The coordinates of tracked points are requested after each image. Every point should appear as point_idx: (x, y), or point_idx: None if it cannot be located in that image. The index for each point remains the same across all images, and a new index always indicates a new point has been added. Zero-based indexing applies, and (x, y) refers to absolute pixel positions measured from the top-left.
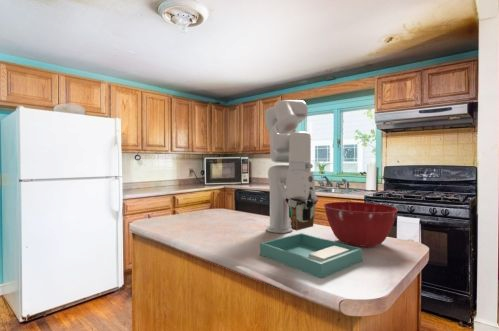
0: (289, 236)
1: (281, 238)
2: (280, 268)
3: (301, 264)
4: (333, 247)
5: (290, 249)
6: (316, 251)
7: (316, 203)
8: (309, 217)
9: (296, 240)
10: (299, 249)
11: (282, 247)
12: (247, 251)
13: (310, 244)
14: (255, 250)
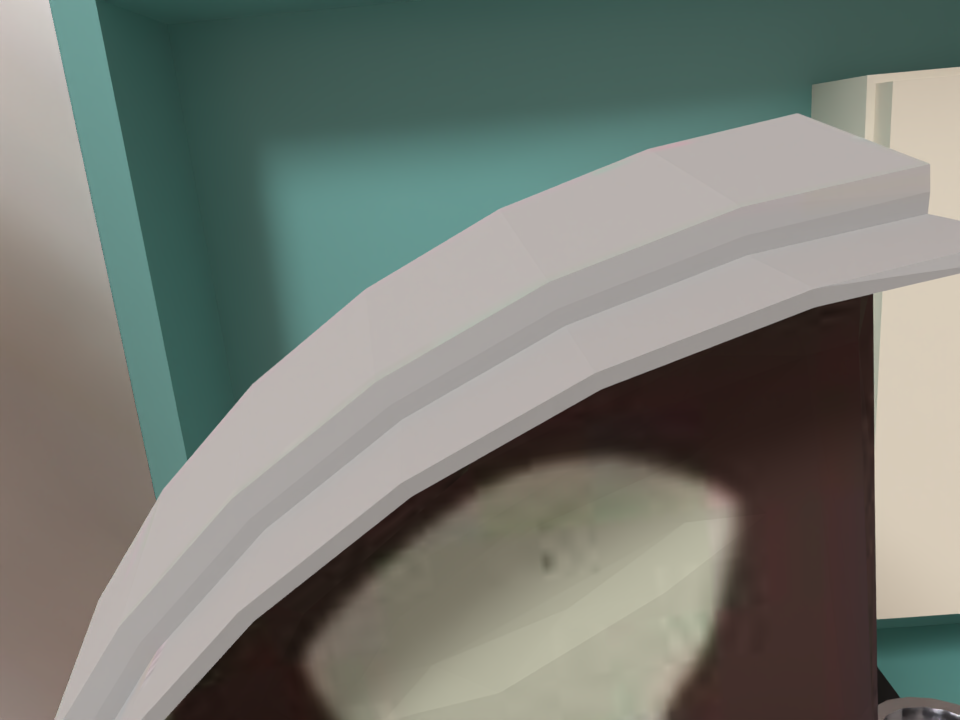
0: (140, 298)
1: (173, 465)
2: None
3: None
4: (936, 175)
5: (290, 331)
6: (876, 494)
7: (814, 140)
8: None
9: (159, 138)
10: (350, 237)
11: (227, 413)
12: (43, 677)
13: (328, 3)
14: (50, 597)
